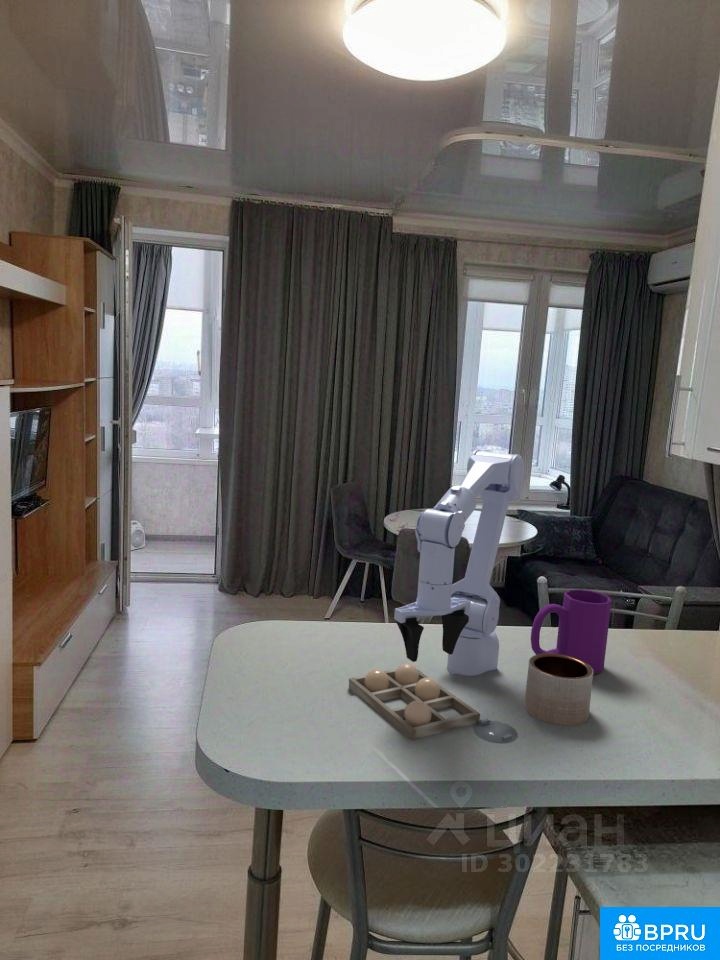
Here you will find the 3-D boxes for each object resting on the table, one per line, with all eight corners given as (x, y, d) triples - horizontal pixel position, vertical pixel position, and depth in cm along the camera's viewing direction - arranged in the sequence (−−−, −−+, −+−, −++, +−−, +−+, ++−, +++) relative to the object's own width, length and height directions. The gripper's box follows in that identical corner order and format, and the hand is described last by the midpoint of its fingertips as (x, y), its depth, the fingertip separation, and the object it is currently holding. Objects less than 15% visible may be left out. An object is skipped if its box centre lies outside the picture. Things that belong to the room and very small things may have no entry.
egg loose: (438, 697, 124) (440, 674, 123) (440, 709, 119) (442, 685, 119) (413, 695, 124) (415, 672, 123) (414, 707, 119) (416, 683, 119)
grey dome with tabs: (496, 725, 117) (497, 713, 117) (526, 745, 111) (527, 733, 111) (463, 734, 113) (464, 722, 113) (492, 756, 107) (493, 743, 107)
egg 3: (420, 718, 116) (422, 693, 115) (435, 730, 112) (437, 705, 111) (398, 723, 114) (399, 698, 113) (413, 736, 110) (415, 710, 109)
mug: (611, 676, 139) (619, 604, 137) (536, 675, 137) (543, 602, 135) (591, 657, 148) (599, 589, 146) (521, 656, 146) (527, 587, 144)
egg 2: (409, 680, 130) (410, 657, 129) (422, 690, 126) (424, 667, 125) (389, 684, 128) (390, 661, 127) (402, 694, 124) (404, 671, 123)
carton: (410, 680, 132) (412, 665, 131) (478, 730, 115) (480, 713, 114) (348, 694, 125) (349, 678, 125) (410, 749, 108) (411, 731, 108)
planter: (569, 701, 127) (575, 651, 126) (599, 732, 117) (606, 678, 115) (513, 703, 125) (518, 653, 124) (539, 734, 115) (544, 680, 113)
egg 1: (380, 686, 127) (381, 663, 126) (393, 696, 123) (394, 673, 122) (359, 690, 125) (360, 667, 124) (371, 701, 121) (373, 677, 120)
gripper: (455, 569, 125) (449, 640, 127) (386, 577, 118) (382, 653, 120) (480, 580, 119) (474, 655, 121) (409, 590, 112) (404, 669, 114)
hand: (429, 655), depth 120 cm, fingers open, 7 cm apart
